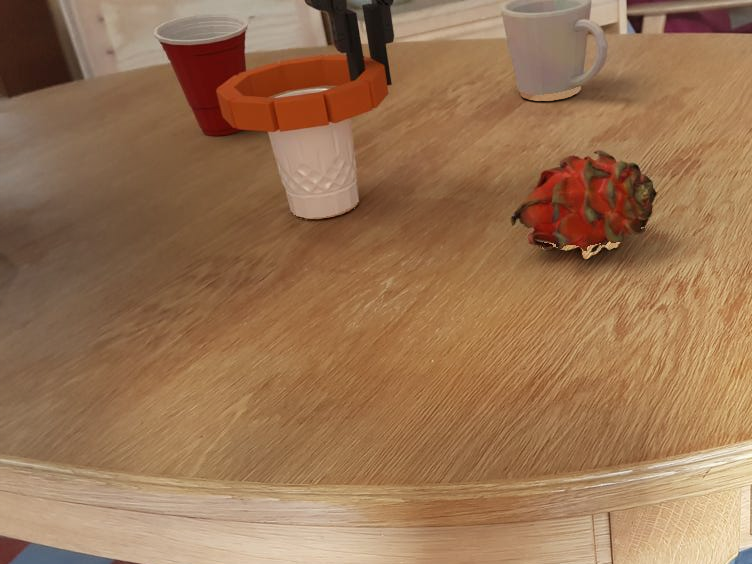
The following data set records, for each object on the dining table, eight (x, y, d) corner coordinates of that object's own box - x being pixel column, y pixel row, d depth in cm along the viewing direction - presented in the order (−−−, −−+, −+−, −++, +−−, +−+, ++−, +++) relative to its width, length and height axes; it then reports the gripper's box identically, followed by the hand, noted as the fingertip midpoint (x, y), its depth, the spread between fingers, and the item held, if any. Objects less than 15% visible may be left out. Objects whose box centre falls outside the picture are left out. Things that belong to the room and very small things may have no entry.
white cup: (275, 224, 90) (249, 117, 84) (298, 193, 96) (276, 90, 90) (354, 221, 88) (334, 112, 82) (374, 189, 95) (356, 85, 88)
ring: (193, 116, 87) (186, 89, 85) (326, 73, 95) (321, 47, 93) (281, 143, 78) (275, 113, 76) (420, 93, 85) (416, 65, 84)
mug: (553, 75, 121) (549, -11, 115) (638, 95, 111) (639, 1, 105) (490, 96, 116) (482, 7, 110) (573, 119, 106) (570, 22, 100)
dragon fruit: (668, 262, 79) (528, 296, 80) (645, 175, 82) (509, 210, 83) (671, 207, 71) (515, 247, 72) (645, 113, 73) (495, 153, 75)
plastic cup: (210, 149, 110) (180, 39, 103) (166, 133, 117) (136, 28, 109) (288, 123, 115) (265, 16, 108) (242, 109, 122) (217, 8, 115)
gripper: (241, -221, 69) (308, 111, 83) (425, -244, 73) (459, 76, 87) (218, -218, 74) (285, 93, 89) (390, -239, 78) (427, 61, 93)
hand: (371, 84), depth 88 cm, fingers closed on ring, 2 cm apart
